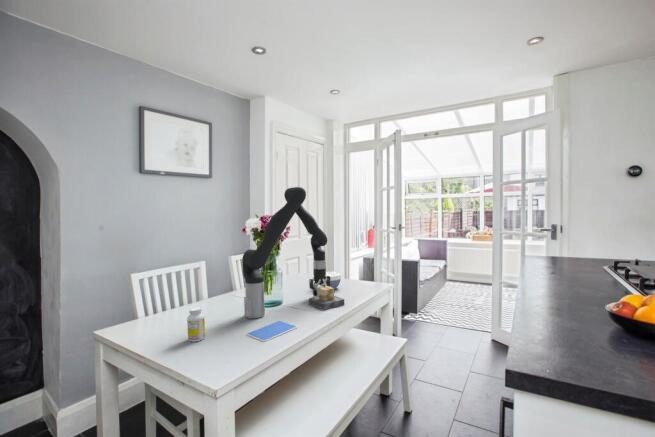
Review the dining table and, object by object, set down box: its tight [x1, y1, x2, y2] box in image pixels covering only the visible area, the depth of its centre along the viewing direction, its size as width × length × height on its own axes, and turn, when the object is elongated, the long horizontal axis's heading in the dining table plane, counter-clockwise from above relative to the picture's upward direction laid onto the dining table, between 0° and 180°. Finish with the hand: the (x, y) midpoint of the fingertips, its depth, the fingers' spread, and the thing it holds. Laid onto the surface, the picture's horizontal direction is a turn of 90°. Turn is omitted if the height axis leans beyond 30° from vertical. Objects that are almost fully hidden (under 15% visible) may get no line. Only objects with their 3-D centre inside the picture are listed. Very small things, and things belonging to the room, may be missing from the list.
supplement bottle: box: [186, 306, 206, 343], centre depth 135 cm, size 7×7×13 cm
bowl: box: [319, 271, 342, 290], centre depth 213 cm, size 16×16×10 cm
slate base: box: [309, 295, 345, 310], centre depth 179 cm, size 14×14×3 cm
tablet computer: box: [246, 320, 298, 343], centre depth 142 cm, size 19×13×1 cm, turn 140°
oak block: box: [319, 286, 335, 301], centre depth 179 cm, size 6×6×6 cm
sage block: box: [312, 285, 324, 298], centre depth 193 cm, size 6×6×6 cm
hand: (320, 294), depth 193 cm, fingers open, 7 cm apart
